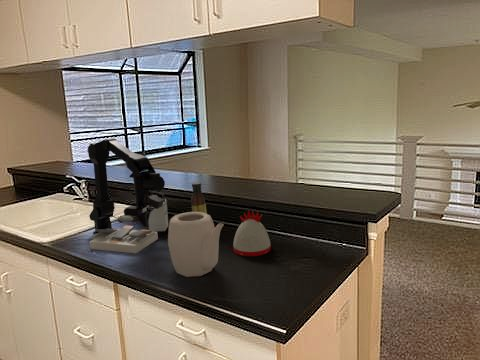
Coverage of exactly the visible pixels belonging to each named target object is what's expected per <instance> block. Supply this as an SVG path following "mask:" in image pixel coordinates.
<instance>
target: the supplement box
mask: <svg viewBox="0 0 480 360" xmlns="http://www.w3.org/2000/svg"><path fill="white" fill-rule="evenodd" d="M167 201H168V200H167V199H165V202H163V205H162V207H160V208H158V209H154V210H153V211H152V212H151V213H150V216H149V221H148V230H152V232H166V230H167V228H169V216H168V214H169V213H168V204H167ZM152 208H154V207H152Z"/></svg>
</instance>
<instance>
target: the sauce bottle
mask: <svg viewBox="0 0 480 360" xmlns="http://www.w3.org/2000/svg"><path fill="white" fill-rule="evenodd" d="M191 188H192V195H191V198H190V202H191V212H203V213H206V214H208V212H207V204H206V198H205V196H204V194H203V192H202V183H201V182H198V181H197V182H193V183H191Z"/></svg>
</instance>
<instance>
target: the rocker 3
mask: <svg viewBox="0 0 480 360" xmlns="http://www.w3.org/2000/svg"><path fill="white" fill-rule="evenodd" d="M151 232H153V231H152V230H149V229H140V230H138V232H135V233H133V234H130V235H129V237H138V238H140V237H145V236H147V234H149V233H151Z"/></svg>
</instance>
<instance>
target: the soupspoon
mask: <svg viewBox="0 0 480 360" xmlns="http://www.w3.org/2000/svg"><path fill="white" fill-rule="evenodd" d="M117 217H118V221H120V222H121V223H129V222H133V220H134V218H133V216H125V215H124V214H122V215H120V217H119V216H117Z"/></svg>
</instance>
